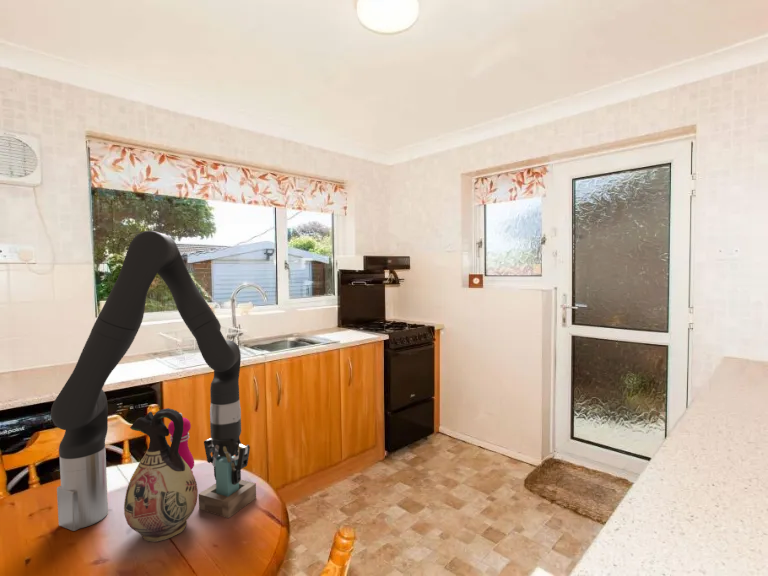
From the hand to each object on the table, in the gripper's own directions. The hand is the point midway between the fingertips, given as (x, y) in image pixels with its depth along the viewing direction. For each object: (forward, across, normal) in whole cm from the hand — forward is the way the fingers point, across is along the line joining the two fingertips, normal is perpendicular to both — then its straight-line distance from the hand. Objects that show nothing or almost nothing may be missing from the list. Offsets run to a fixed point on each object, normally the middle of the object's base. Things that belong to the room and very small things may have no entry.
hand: (227, 480), depth 110 cm
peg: (+6, 0, 0) cm, 6 cm away
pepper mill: (+6, -22, +4) cm, 23 cm away
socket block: (+6, 0, 0) cm, 6 cm away
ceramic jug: (+6, -5, -15) cm, 17 cm away
